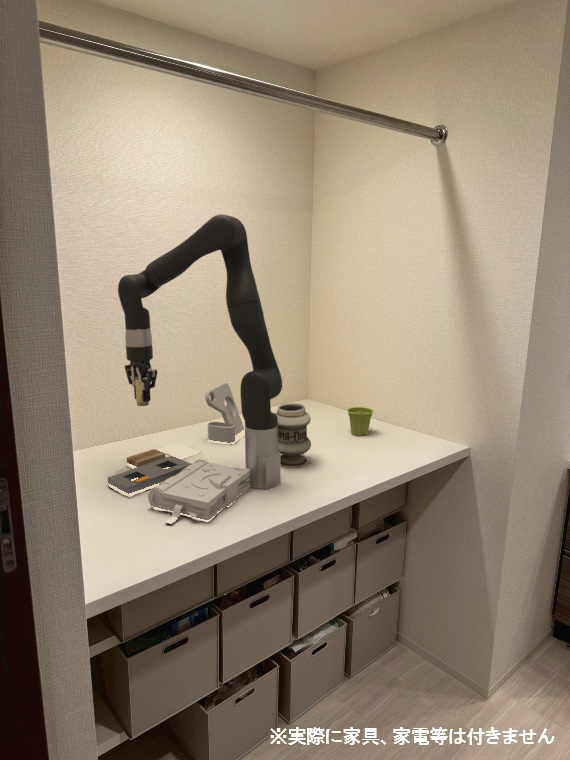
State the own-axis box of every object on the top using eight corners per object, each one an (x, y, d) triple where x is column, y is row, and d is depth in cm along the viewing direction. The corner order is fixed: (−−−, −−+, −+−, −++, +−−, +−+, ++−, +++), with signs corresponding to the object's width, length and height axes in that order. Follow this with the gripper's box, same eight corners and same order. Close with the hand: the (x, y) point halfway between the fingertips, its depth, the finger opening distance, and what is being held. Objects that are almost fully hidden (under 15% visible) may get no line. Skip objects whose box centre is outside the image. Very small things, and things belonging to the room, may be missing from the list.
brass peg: (151, 404, 165) (149, 378, 163) (141, 406, 162) (139, 380, 160) (144, 402, 167) (142, 376, 165) (134, 404, 164) (132, 378, 163)
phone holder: (231, 446, 186) (230, 395, 182) (205, 442, 189) (203, 392, 185) (251, 430, 202) (250, 383, 198) (226, 427, 205) (225, 381, 201)
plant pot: (345, 428, 204) (346, 406, 202) (371, 429, 204) (371, 406, 202) (347, 437, 195) (348, 414, 193) (373, 437, 195) (374, 414, 193)
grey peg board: (192, 473, 163) (192, 462, 163) (128, 497, 147) (127, 486, 146) (171, 464, 170) (171, 454, 169) (108, 487, 154) (107, 476, 153)
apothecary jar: (264, 461, 173) (264, 406, 169) (291, 451, 181) (291, 399, 177) (292, 471, 165) (292, 414, 160) (318, 461, 173) (319, 406, 169)
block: (165, 462, 172) (165, 453, 171) (138, 471, 164) (137, 462, 164) (154, 457, 175) (153, 448, 175) (127, 466, 168) (126, 457, 167)
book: (134, 518, 137) (133, 490, 135) (196, 477, 161) (195, 452, 160) (200, 536, 129) (199, 506, 127) (254, 489, 154) (254, 464, 152)
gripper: (164, 344, 158) (167, 401, 162) (136, 339, 168) (139, 393, 172) (142, 348, 153) (145, 407, 157) (114, 342, 162) (118, 398, 166)
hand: (142, 399), depth 164 cm, fingers closed on brass peg, 3 cm apart
